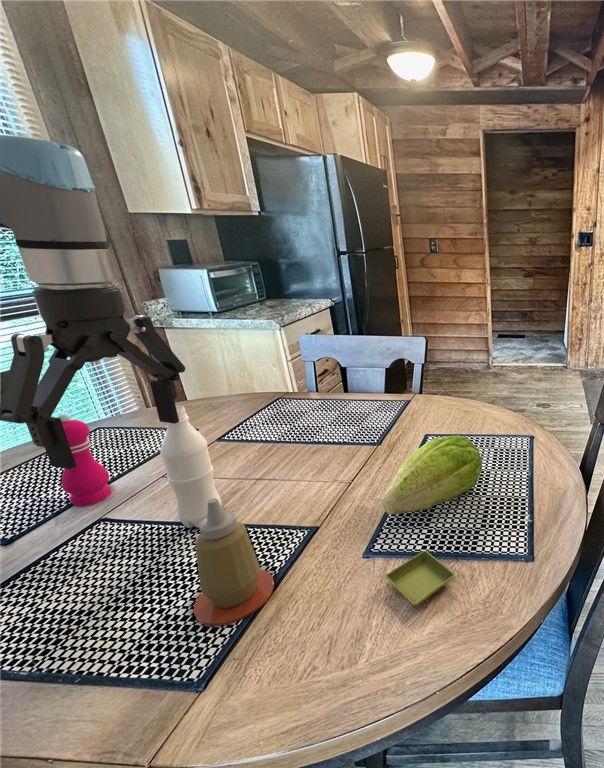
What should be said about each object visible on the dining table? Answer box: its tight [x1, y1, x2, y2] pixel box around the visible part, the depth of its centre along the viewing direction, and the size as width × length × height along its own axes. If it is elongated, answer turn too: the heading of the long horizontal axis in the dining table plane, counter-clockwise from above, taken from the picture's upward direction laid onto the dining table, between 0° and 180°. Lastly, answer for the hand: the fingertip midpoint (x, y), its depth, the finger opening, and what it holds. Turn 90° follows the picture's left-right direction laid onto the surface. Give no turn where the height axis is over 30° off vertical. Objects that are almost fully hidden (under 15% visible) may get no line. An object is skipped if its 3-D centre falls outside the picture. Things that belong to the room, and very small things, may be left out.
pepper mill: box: [57, 413, 112, 507], centre depth 88 cm, size 7×7×20 cm
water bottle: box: [160, 405, 223, 529], centre depth 81 cm, size 7×7×25 cm
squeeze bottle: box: [194, 498, 261, 608], centre depth 65 cm, size 8×8×18 cm
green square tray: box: [384, 550, 456, 607], centre depth 71 cm, size 9×9×2 cm
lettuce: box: [380, 434, 483, 516], centre depth 93 cm, size 14×24×15 cm
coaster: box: [193, 568, 275, 627], centre depth 68 cm, size 11×11×1 cm
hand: (122, 441), depth 57 cm, fingers open, 13 cm apart
